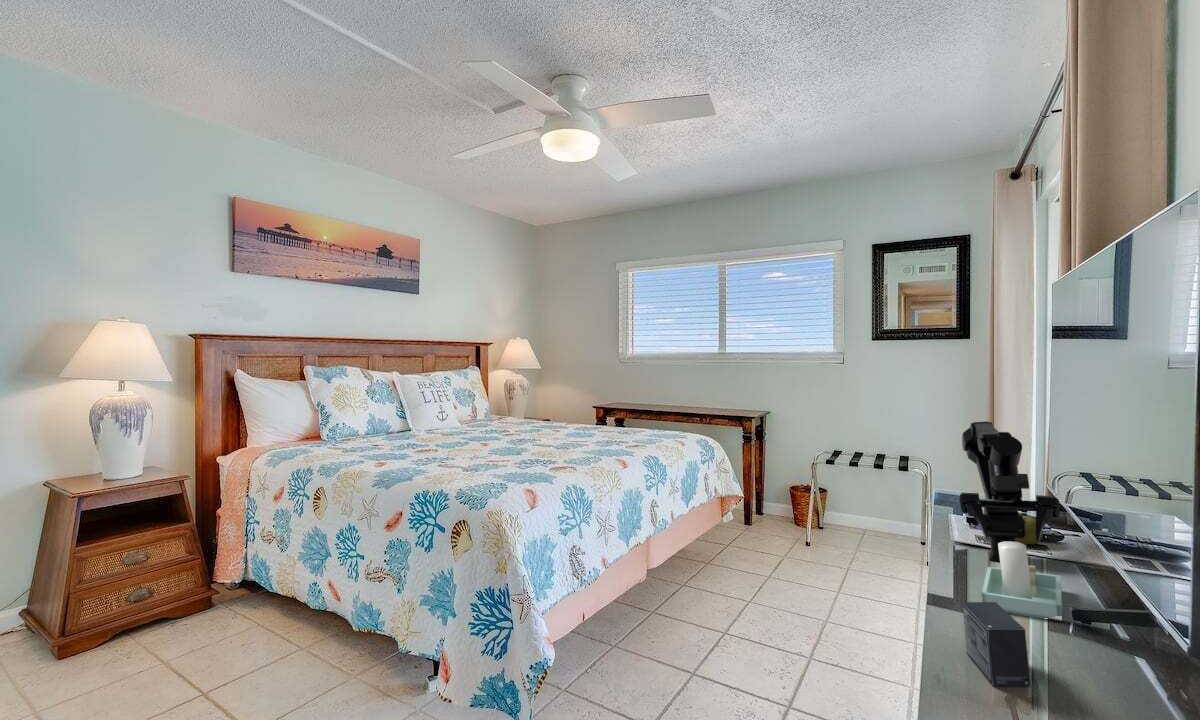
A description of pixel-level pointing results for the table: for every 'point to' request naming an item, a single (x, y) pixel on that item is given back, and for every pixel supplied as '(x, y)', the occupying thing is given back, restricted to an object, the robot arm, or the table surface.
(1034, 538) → the apple
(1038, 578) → the tote
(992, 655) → the small box
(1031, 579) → the cube
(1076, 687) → the table surface
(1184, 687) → the table surface
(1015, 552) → the white tapered cylinder
